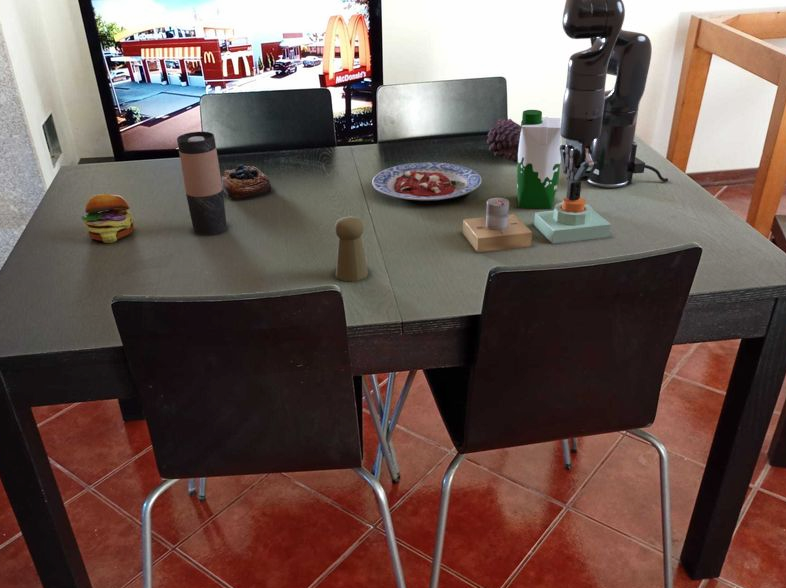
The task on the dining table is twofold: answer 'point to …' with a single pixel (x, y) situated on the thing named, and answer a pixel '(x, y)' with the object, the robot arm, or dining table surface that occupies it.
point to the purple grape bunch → (505, 139)
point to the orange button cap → (573, 205)
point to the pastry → (245, 183)
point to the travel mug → (202, 182)
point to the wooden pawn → (350, 250)
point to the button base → (571, 225)
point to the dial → (497, 213)
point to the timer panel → (496, 234)
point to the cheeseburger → (108, 218)
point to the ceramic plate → (426, 181)
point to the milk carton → (538, 160)
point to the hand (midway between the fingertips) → (572, 198)
